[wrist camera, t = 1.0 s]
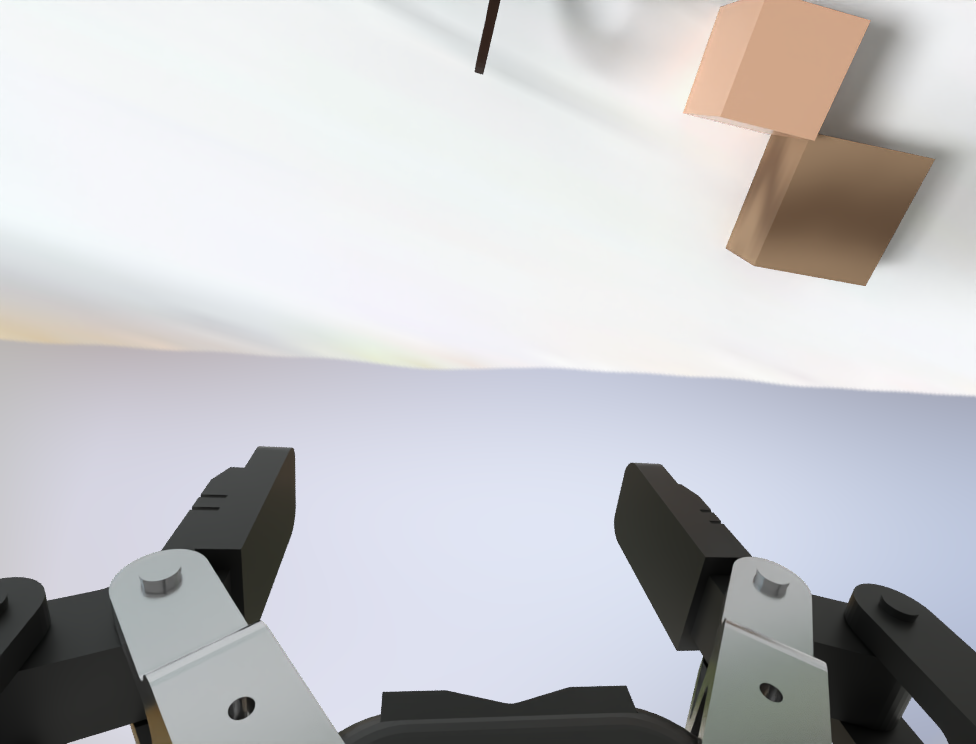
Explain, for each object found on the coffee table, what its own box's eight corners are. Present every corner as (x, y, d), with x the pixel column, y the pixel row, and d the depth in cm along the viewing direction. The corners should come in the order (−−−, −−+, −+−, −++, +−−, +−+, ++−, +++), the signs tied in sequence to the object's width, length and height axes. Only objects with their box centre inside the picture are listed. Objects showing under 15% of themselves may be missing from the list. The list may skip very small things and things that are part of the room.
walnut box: (771, 127, 30) (811, 132, 26) (881, 151, 31) (935, 159, 27) (723, 247, 33) (754, 265, 30) (824, 265, 34) (865, 286, 30)
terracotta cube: (719, 7, 27) (768, -10, 22) (806, 31, 27) (870, 20, 23) (682, 113, 29) (720, 116, 25) (763, 133, 30) (814, 140, 25)
